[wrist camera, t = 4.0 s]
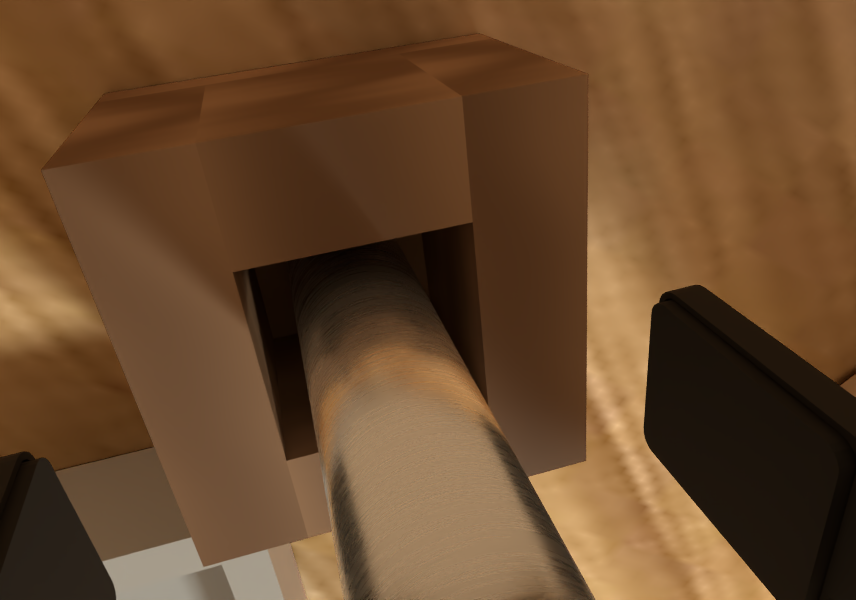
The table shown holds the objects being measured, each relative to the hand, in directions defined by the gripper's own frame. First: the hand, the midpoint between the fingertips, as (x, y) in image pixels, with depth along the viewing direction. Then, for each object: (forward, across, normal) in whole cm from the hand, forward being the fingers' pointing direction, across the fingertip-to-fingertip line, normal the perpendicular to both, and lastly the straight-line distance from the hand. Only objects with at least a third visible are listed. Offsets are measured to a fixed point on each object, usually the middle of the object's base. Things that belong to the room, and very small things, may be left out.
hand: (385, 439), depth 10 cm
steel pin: (+8, 0, 0) cm, 8 cm away
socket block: (+9, 0, 0) cm, 9 cm away
